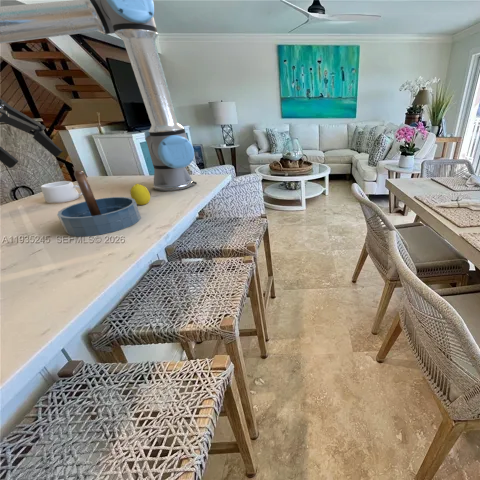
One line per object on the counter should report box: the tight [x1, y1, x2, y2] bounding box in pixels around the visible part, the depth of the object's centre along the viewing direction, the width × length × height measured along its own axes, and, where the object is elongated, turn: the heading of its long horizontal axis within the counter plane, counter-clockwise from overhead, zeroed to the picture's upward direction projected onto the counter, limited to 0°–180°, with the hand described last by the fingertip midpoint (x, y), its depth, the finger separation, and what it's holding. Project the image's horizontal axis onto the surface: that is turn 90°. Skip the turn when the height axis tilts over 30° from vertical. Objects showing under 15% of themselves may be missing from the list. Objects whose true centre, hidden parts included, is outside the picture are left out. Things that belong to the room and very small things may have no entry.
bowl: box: [56, 196, 142, 237], centre depth 76 cm, size 18×18×6 cm
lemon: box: [129, 183, 151, 206], centre depth 91 cm, size 6×6×8 cm
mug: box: [40, 180, 83, 204], centre depth 98 cm, size 12×10×6 cm
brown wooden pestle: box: [73, 169, 101, 216], centre depth 74 cm, size 6×6×15 cm
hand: (38, 159), depth 71 cm, fingers open, 13 cm apart
